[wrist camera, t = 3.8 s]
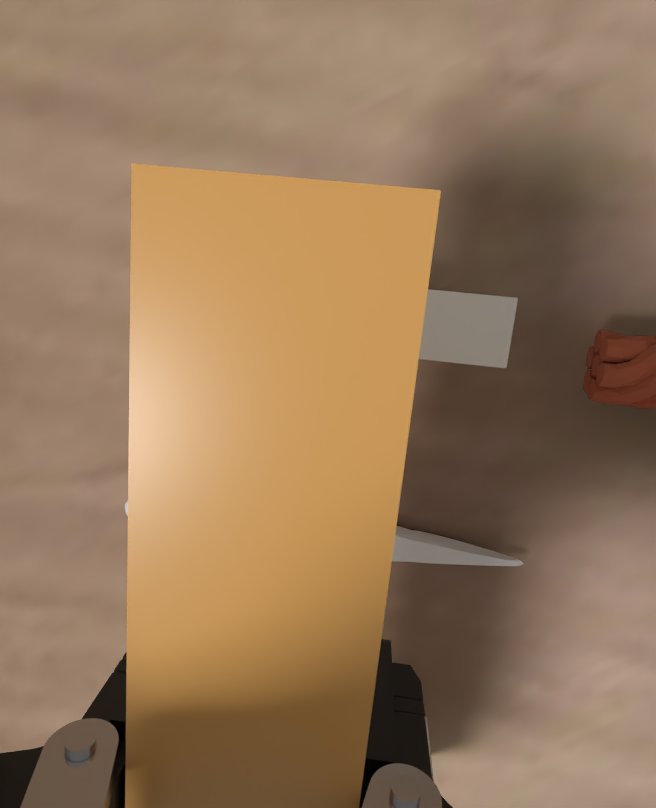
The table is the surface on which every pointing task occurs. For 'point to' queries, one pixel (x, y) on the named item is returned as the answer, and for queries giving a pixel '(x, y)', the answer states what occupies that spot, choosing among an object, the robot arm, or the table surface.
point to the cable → (622, 370)
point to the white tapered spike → (440, 550)
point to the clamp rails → (467, 334)
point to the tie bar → (264, 477)
